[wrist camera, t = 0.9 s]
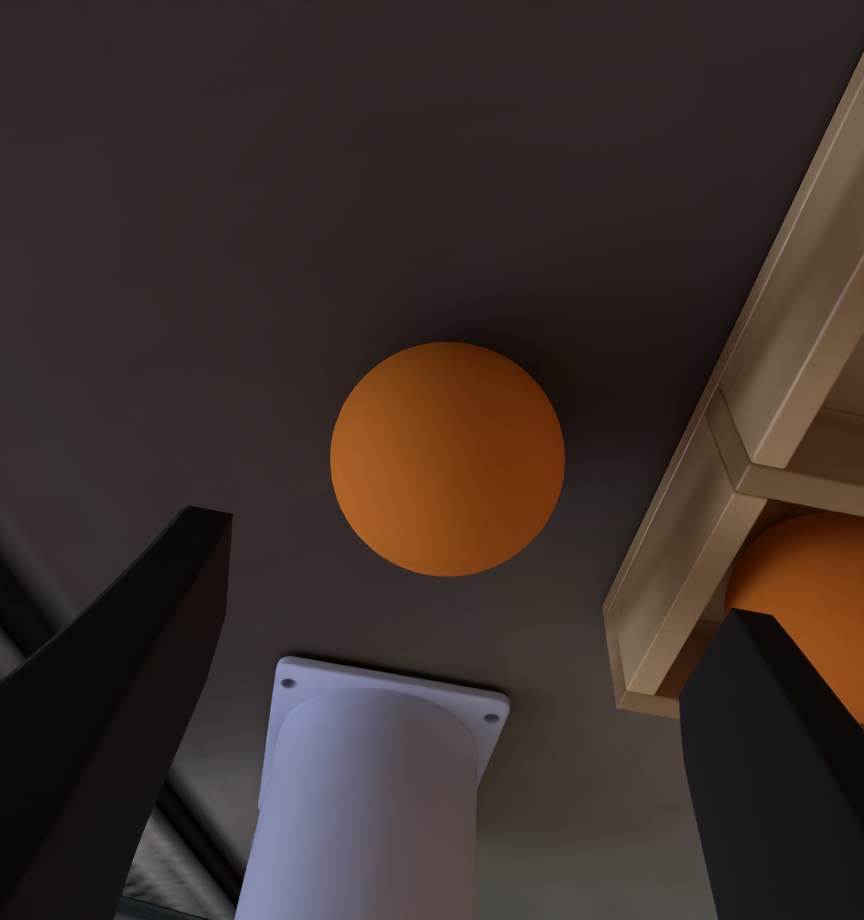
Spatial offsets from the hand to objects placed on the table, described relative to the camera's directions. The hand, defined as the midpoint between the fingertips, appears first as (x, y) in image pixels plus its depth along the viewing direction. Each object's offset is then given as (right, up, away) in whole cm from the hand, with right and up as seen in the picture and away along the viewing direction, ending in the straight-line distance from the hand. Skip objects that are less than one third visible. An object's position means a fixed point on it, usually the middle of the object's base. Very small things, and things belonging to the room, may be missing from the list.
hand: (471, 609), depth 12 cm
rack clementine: (+10, -2, +9) cm, 13 cm away
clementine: (0, +2, +7) cm, 8 cm away
